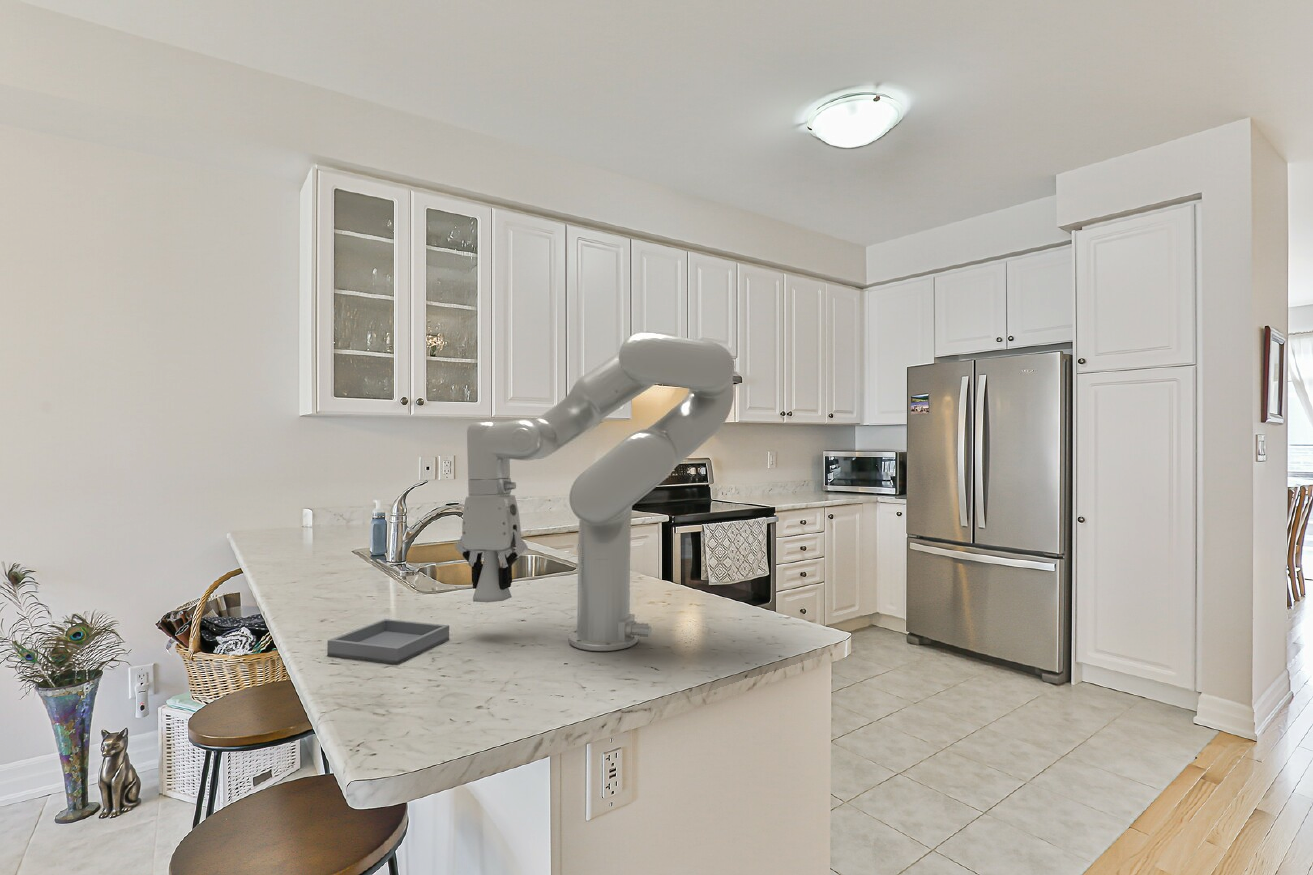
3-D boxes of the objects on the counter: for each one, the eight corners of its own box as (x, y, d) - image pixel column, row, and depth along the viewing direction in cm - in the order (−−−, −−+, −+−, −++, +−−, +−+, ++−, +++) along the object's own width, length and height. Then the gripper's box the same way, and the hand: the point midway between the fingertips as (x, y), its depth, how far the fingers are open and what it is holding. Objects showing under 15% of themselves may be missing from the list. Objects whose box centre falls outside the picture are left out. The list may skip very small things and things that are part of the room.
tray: (449, 639, 118) (449, 625, 118) (397, 664, 105) (397, 648, 105) (385, 632, 122) (385, 618, 122) (327, 655, 109) (327, 640, 109)
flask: (507, 603, 116) (505, 547, 116) (466, 604, 116) (465, 548, 116) (516, 594, 123) (515, 541, 123) (478, 594, 123) (477, 542, 123)
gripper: (540, 486, 121) (543, 584, 120) (461, 487, 126) (463, 581, 125) (520, 489, 113) (523, 594, 113) (437, 490, 118) (440, 590, 118)
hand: (492, 586), depth 119 cm, fingers closed on flask, 4 cm apart
